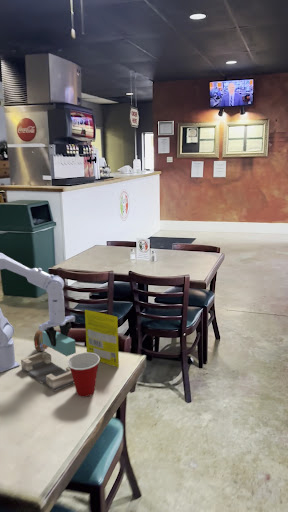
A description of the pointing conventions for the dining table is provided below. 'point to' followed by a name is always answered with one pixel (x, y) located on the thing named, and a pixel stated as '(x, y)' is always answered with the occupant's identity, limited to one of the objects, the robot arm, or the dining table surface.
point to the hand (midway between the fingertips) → (58, 343)
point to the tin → (39, 341)
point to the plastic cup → (84, 372)
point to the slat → (61, 343)
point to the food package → (102, 336)
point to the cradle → (47, 371)
